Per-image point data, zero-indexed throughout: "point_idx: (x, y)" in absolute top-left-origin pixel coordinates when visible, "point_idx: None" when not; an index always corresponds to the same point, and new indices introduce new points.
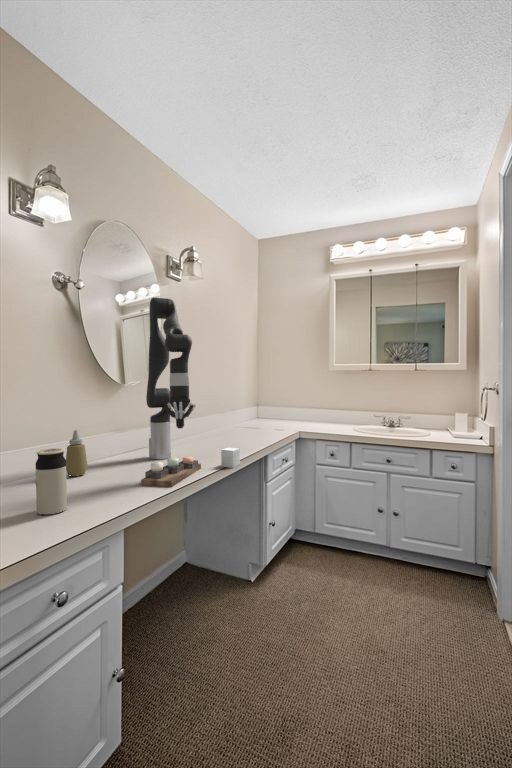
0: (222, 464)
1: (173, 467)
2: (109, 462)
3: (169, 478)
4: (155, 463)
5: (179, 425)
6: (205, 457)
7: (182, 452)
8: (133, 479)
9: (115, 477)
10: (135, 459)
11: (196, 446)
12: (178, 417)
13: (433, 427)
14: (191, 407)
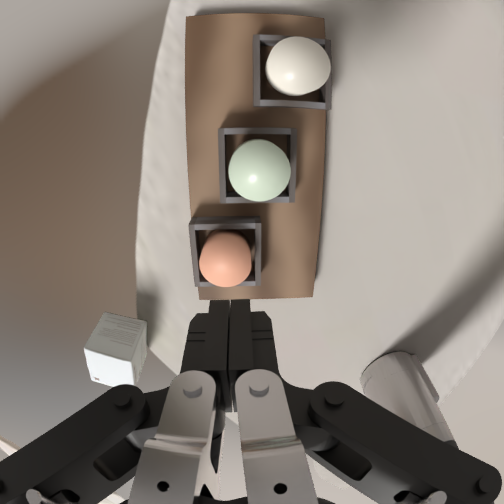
0: (140, 324)
1: (244, 142)
2: (495, 291)
3: (214, 46)
4: (302, 55)
5: (224, 315)
6: None
7: None
8: (386, 96)
9: (449, 123)
10: (446, 336)
11: None
12: (235, 391)
13: None
14: (6, 477)
